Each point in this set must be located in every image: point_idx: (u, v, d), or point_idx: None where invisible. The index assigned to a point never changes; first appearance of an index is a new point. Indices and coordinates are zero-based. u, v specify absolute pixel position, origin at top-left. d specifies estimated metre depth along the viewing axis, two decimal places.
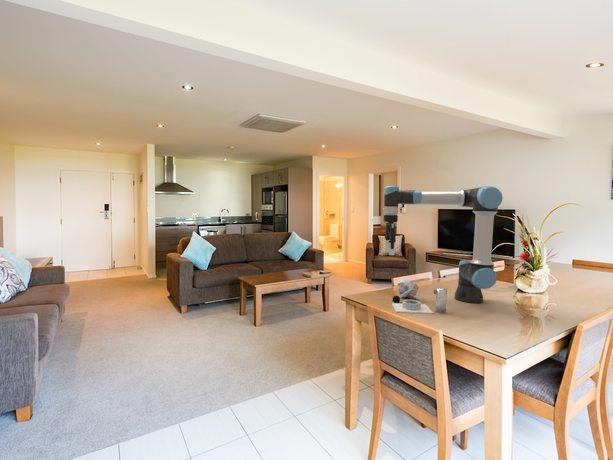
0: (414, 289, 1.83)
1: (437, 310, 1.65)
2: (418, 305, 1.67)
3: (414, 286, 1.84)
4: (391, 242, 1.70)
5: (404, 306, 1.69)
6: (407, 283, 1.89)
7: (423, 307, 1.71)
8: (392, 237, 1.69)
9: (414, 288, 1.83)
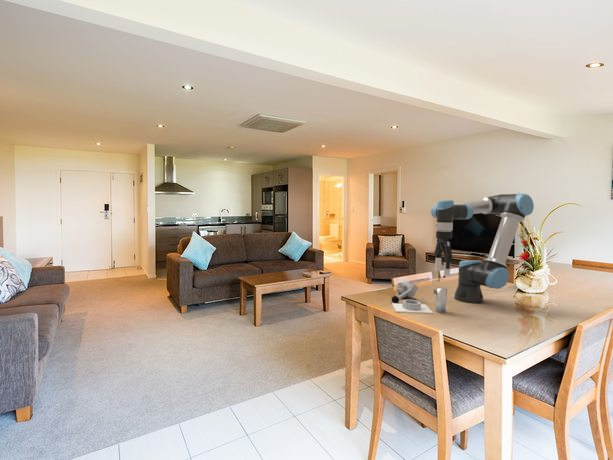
0: (413, 289, 1.83)
1: (437, 310, 1.65)
2: (418, 305, 1.67)
3: (413, 286, 1.83)
4: (447, 262, 1.56)
5: (404, 306, 1.69)
6: (406, 283, 1.88)
7: (423, 307, 1.71)
8: (448, 256, 1.55)
9: (413, 288, 1.83)
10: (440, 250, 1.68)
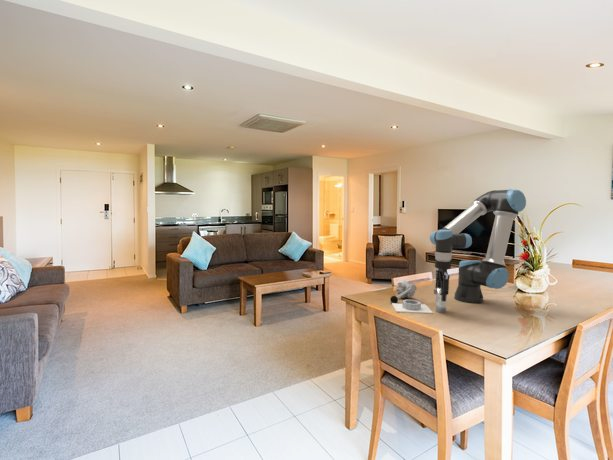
0: (412, 289, 1.82)
1: (437, 310, 1.65)
2: (418, 305, 1.67)
3: (412, 286, 1.83)
4: (443, 294, 1.61)
5: (404, 306, 1.69)
6: (405, 283, 1.88)
7: (423, 307, 1.71)
8: (445, 290, 1.59)
9: (412, 288, 1.83)
10: (440, 281, 1.67)
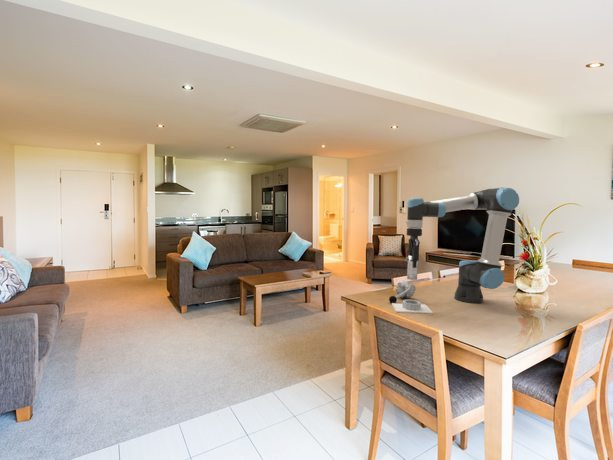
0: (411, 289, 1.82)
1: (408, 277, 1.68)
2: (418, 305, 1.67)
3: (411, 286, 1.83)
4: (414, 261, 1.64)
5: (404, 306, 1.69)
6: (404, 283, 1.88)
7: (423, 307, 1.71)
8: (415, 256, 1.63)
9: (411, 288, 1.82)
10: (412, 249, 1.70)
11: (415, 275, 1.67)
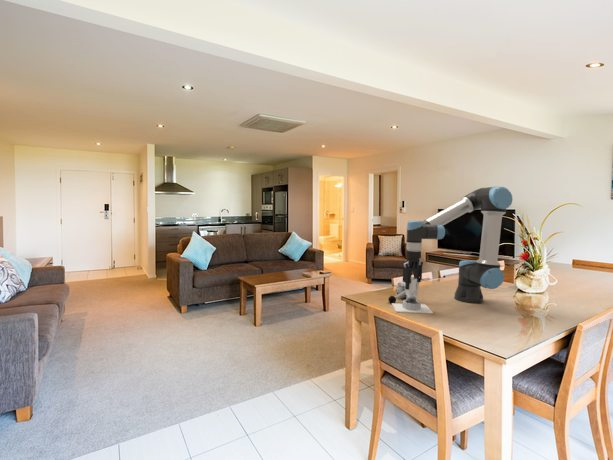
0: None
1: (406, 298, 1.71)
2: (418, 305, 1.67)
3: None
4: (405, 282, 1.68)
5: (404, 306, 1.69)
6: (404, 283, 1.88)
7: (423, 307, 1.71)
8: (404, 277, 1.66)
9: None
10: (414, 271, 1.70)
11: (410, 297, 1.68)
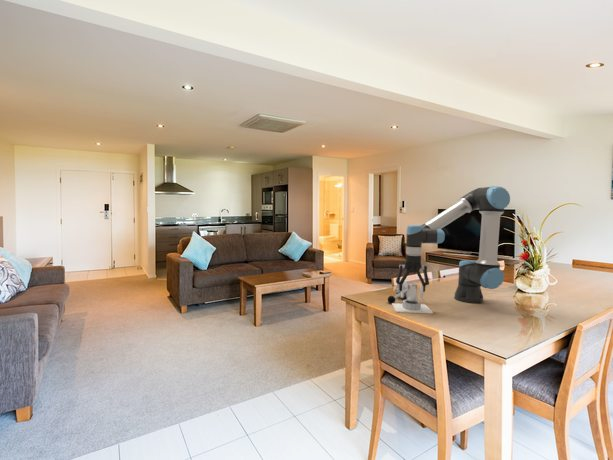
0: None
1: None
2: (418, 305, 1.67)
3: None
4: (398, 283, 1.71)
5: (404, 306, 1.69)
6: (404, 283, 1.88)
7: (423, 307, 1.71)
8: None
9: None
10: (418, 275, 1.69)
11: None
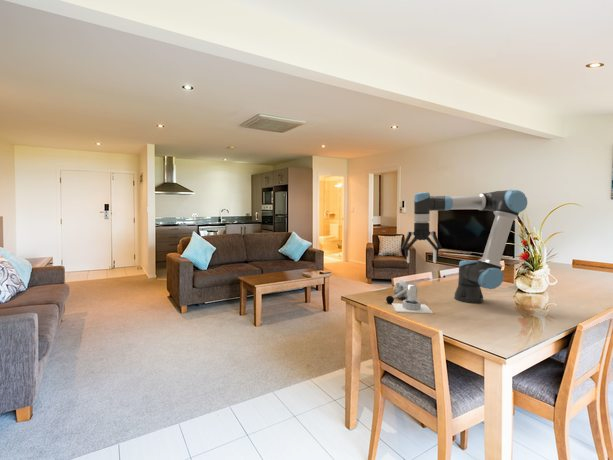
0: None
1: None
2: (418, 305, 1.67)
3: None
4: (404, 249, 1.72)
5: (404, 306, 1.69)
6: (402, 283, 1.87)
7: (423, 307, 1.71)
8: (403, 244, 1.71)
9: None
10: (429, 242, 1.70)
11: None
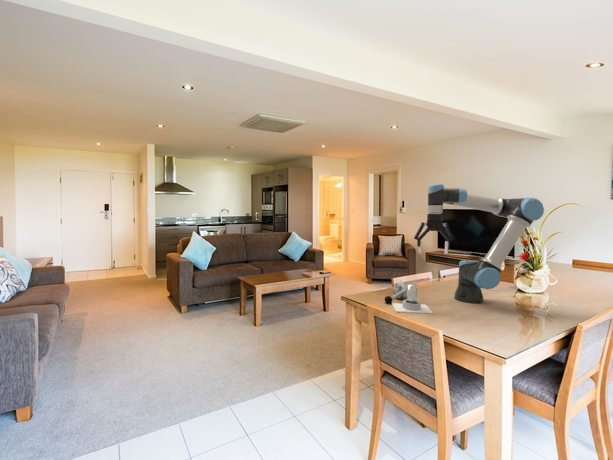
0: None
1: None
2: (418, 305, 1.67)
3: None
4: (416, 239, 1.75)
5: (404, 306, 1.69)
6: (401, 284, 1.87)
7: (423, 307, 1.71)
8: None
9: None
10: (441, 233, 1.74)
11: None
